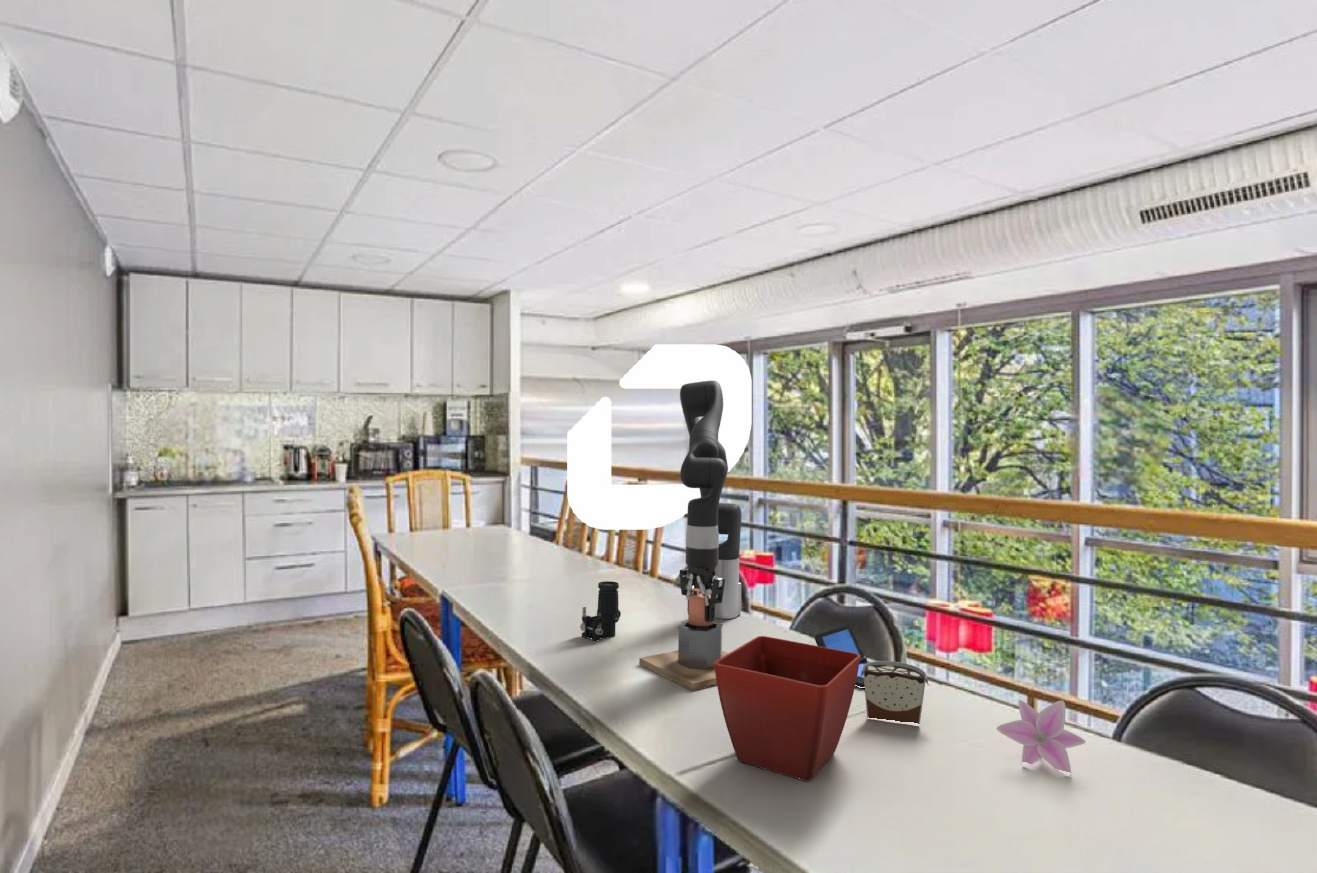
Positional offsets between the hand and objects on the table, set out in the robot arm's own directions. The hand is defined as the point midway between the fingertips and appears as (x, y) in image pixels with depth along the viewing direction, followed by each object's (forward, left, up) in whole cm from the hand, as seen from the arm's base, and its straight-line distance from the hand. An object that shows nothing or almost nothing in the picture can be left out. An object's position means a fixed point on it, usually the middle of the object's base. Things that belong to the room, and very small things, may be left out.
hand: (700, 618), depth 165 cm
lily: (-19, +68, -12) cm, 71 cm away
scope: (+5, -34, -12) cm, 36 cm away
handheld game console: (-28, +22, -12) cm, 37 cm away
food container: (-14, +42, -12) cm, 46 cm away
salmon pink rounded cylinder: (0, 0, -1) cm, 1 cm away
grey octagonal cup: (0, 0, -10) cm, 10 cm away
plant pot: (+16, +43, -12) cm, 47 cm away
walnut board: (0, 0, -12) cm, 12 cm away
